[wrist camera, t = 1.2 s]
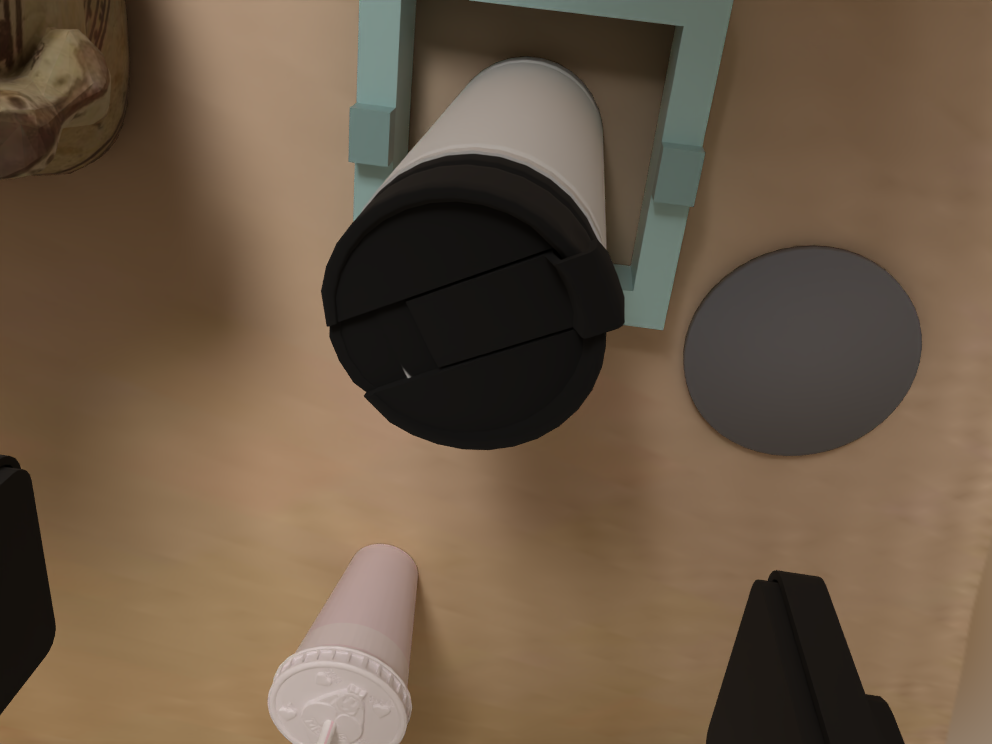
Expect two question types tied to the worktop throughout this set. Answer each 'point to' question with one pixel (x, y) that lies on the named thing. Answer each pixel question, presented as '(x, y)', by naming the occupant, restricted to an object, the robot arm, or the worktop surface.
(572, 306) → the travel mug
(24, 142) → the ceramic vessel
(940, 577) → the worktop surface
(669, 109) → the dock collar
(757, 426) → the pad
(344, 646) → the smoothie
